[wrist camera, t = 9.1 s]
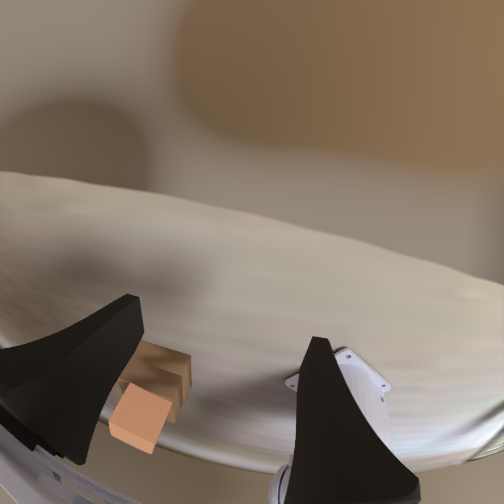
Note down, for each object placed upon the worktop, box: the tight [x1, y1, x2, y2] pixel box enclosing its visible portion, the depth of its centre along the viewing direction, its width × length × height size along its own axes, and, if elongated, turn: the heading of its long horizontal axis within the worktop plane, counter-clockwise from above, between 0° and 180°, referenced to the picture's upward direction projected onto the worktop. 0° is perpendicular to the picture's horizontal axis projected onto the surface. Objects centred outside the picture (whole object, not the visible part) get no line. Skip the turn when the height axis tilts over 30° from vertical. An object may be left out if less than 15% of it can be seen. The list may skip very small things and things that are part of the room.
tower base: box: [132, 340, 192, 403], centre depth 28 cm, size 6×6×3 cm
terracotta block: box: [108, 382, 172, 454], centre depth 22 cm, size 4×4×5 cm
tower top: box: [118, 357, 183, 424], centre depth 26 cm, size 6×6×3 cm
